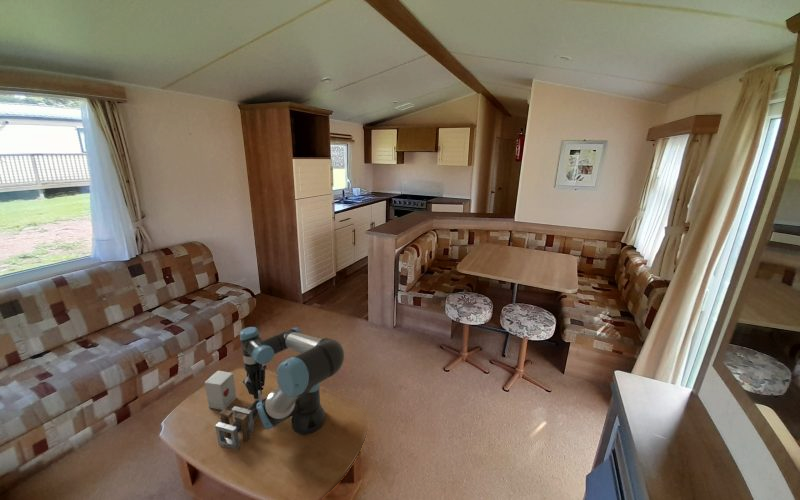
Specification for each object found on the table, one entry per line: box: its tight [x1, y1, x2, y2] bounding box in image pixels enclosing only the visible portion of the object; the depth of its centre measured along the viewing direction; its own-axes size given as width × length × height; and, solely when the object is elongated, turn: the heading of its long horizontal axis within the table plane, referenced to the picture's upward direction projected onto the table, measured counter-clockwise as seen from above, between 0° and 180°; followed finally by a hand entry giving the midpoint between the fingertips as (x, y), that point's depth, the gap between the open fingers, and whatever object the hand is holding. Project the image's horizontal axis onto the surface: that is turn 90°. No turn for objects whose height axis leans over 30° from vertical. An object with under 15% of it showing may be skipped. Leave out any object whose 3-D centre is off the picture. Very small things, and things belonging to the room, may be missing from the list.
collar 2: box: [230, 405, 256, 434], centre depth 141 cm, size 9×2×10 cm, turn 75°
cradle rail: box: [253, 394, 269, 424], centre depth 152 cm, size 4×15×3 cm, turn 165°
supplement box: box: [204, 370, 237, 411], centre depth 155 cm, size 9×9×15 cm
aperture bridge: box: [219, 408, 251, 443], centre depth 137 cm, size 12×2×12 cm, turn 75°
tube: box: [231, 400, 259, 433], centre depth 143 cm, size 16×4×4 cm, turn 165°
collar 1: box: [214, 421, 241, 451], centre depth 133 cm, size 9×2×10 cm, turn 75°
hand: (259, 402), depth 151 cm, fingers closed
